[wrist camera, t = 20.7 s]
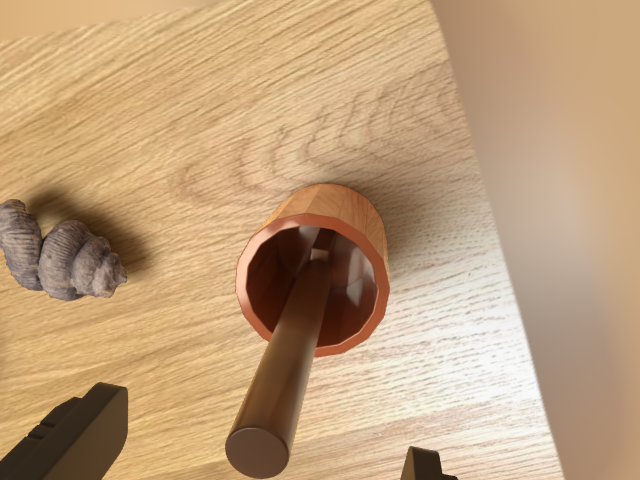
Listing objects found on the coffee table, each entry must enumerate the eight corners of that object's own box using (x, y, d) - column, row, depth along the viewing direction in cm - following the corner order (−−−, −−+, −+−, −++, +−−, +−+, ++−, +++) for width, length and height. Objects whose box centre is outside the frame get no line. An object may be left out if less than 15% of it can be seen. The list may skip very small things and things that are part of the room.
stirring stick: (315, 221, 29) (228, 401, 12) (343, 226, 29) (295, 415, 12) (309, 264, 30) (220, 488, 13) (336, 269, 30) (282, 502, 13)
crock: (277, 174, 29) (242, 202, 21) (396, 193, 28) (403, 229, 21) (265, 282, 31) (229, 341, 24) (374, 302, 31) (373, 369, 23)
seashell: (22, 221, 33) (151, 263, 34) (-27, 282, 31) (115, 328, 31) (-9, 175, 29) (140, 223, 29) (-69, 242, 26) (96, 295, 26)
